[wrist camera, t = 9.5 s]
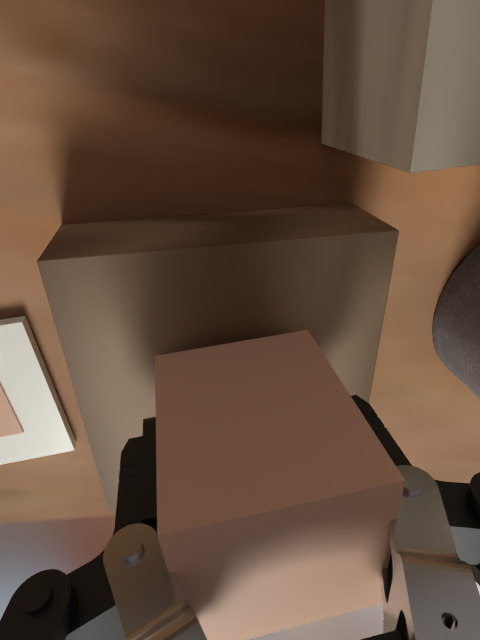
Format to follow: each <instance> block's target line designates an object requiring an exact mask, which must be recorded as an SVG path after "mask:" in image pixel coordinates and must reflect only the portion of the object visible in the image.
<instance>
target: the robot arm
mask: <svg viewBox="0 0 480 640" xmlns="http://www.w3.org/2000/svg"><path fill="white" fill-rule="evenodd" d="M351 397H352V399H353V401H354V402H355V404H356V405H357V407H358V408H359V410H360V411H361V413H362V414H363V416H364V418H365V419H366V421H367V422H368V424H369V425H370V427H371V428H372V430H373V432H374V433H375V435H376V436H377V438H378V439H379V441H380V442H381V444H382V445H383V447H384V449H385V450H386V452H387V453H388V455H389V456H390V458H391V459H392V461H393V462H394V464H395V466H396V467H397V469H398V470H399V472H400V473H401V475H402V476H403V478H404V480H405V484H404V489H403V494H402V499H401V504H400V509H399V514H398V519H394V520H390V525H389V531H388V535H389V542H390V548H391V555H390V560H389V565H388V568H384V569H381V575H380V585H381V594H382V601H383V615H384V620H383V630H384V631H383V632H384V633H383V634H380V635H376V636H372V637H369V638H365V639H362V640H480V595H479V592H478V588H477V585H476V582H477V583H478V584H479V585H480V473H477V474H476V475H474V476H473V477H472V479H471V482H470V484H468V483H456V482H444V481H438V480H434V479H433V478H432V477H431V476H430V475H429V474H428V473H426V472H425V471H423V470H422V469H420V468H417V467H414V466H412V465H411V464H410V462H409V461H408V459H407V458H406V456H405V455H404V454H403V452H402V451H401V449H400V448H399V446H398V445H397V443H396V442H395V440H394V439H393V438H392V436H391V435H390V433H389V432H388V430H387V429H386V428H385V427H384V424H383V423H382V422H381V420H380V419H379V418H378V417H377V414H376V413H375V411H374V410H373V409H372V407H371V406H370V404H369V403H367V402H366V401H365V400H363V399H362V398H360V397H359V396H357V395H352V396H351ZM475 581H476V582H475ZM0 640H207V638H206V636H205V634H204V631H203V629H202V627H201V625H200V622H199V620H198V618H197V616H196V614H195V612H194V610H193V608H192V606H191V605H189V603H188V601H187V599H186V597H185V594H184V592H183V590H182V588H181V585H180V583H179V581H178V579H177V577H176V574H175V572H171V573H169V572H168V569H167V566H166V563H165V559H164V556H163V553H162V550H161V546H160V543H159V540H158V537H157V475H156V417H151V418H145V419H143V436H140V437H134V438H129V439H128V441H127V443H126V444H125V446H124V448H123V450H122V452H121V458H120V470H119V482H118V495H117V507H116V520H115V529H114V533H113V536H112V538H111V539H110V540H109V542H108V543H107V545H106V548H105V549H104V551H103V552H102V553H101V554H100V555H98V556H97V557H96V558H95V559H93V560H92V561H90V562H89V563H87V564H85V565H83V566H81V567H80V568H78V569H76V570H74V571H72V572H71V573H69V574H67V575H66V574H65V573H63V572H62V571H59V570H55V569H49V570H44V571H41V572H39V573H36V574H35V575H33V576H31V577H30V578H28V579H27V580H26V581H25V582H24V583H22V584H21V586H20V587H19V588H18V589H17V590H16V592H15V593H14V594H13V596H12V598H11V600H10V602H9V604H8V606H7V608H6V610H5V612H4V614H3V616H2V618H1V620H0Z"/></svg>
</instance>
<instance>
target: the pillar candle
mask: <svg viewBox="0 0 480 640" xmlns="http://www.w3.org/2000/svg"><path fill="white" fill-rule="evenodd" d="M433 343H434V347H435V350H436V352H437V354H438V356H439V358H440V359H441V361H442V362H443V363H444V364H445V366H446V367H447V368H448V369H449V370H450V371H451V372H452V373H453V374H454V375H455V376H457V377H458V378H459V379H460V380H461V381H462V382H463V383H464V384H465V385H467V386H468V387H469V389H470V390H471V391H472V392H473V393H474V394H475V395H476V396H477V397H478V398H479V399H480V243H479V244H478V245H477V246H476V247H475V248H474V249H473V250H472V251H471V253H469V254H468V255H467V256H466V257H465V259H464V260H463V261H462V263H461V264H460V265H459V266H458V268H456V270H455V271H454V273H453V274H452V276H451V277H450V279H449V281H448V282H447V284H446V286H445V288H444V290H443V292H442V294H441V296H440V299H439V302H438V304H437V308H436V311H435V314H434V320H433Z"/></svg>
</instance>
